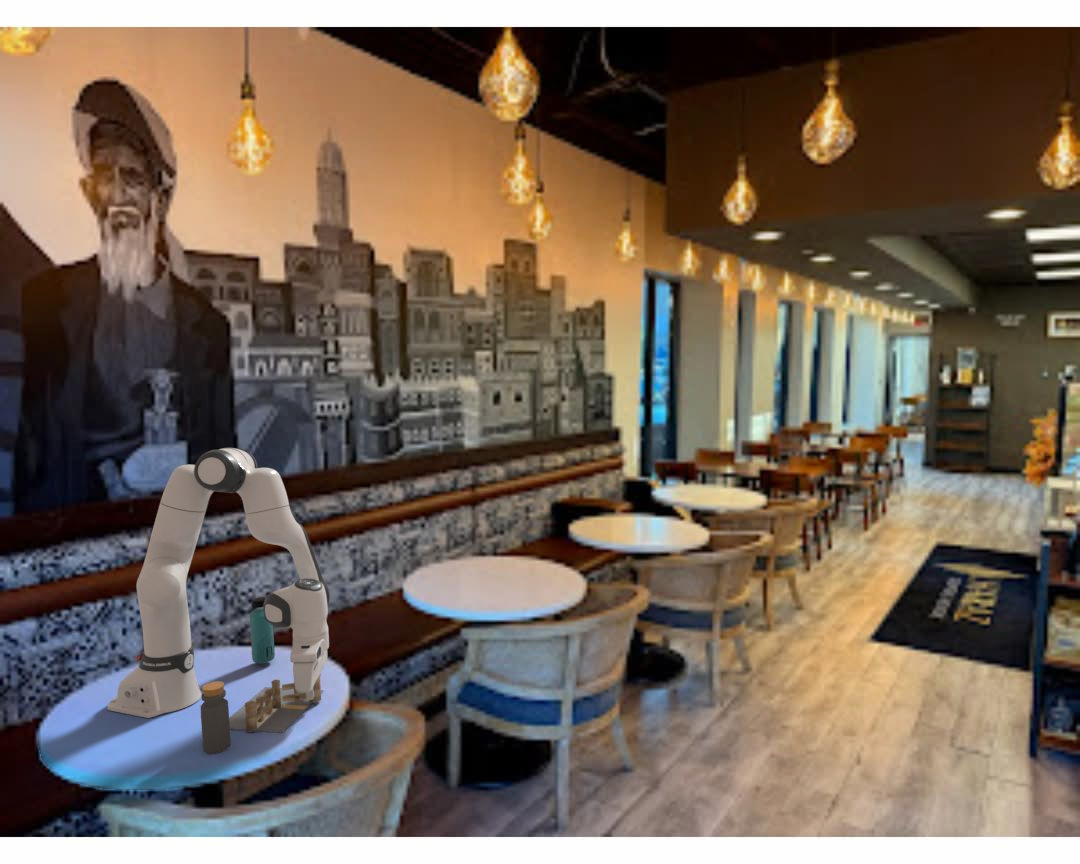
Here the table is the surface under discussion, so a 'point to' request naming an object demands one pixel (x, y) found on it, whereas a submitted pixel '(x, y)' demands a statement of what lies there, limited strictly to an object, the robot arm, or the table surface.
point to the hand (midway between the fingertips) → (313, 693)
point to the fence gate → (298, 696)
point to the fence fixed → (258, 705)
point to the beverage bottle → (261, 634)
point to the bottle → (215, 718)
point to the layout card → (272, 714)
